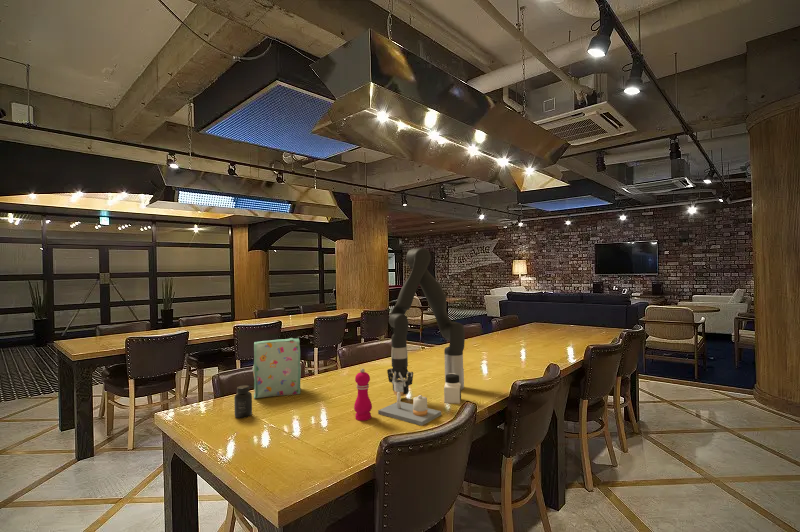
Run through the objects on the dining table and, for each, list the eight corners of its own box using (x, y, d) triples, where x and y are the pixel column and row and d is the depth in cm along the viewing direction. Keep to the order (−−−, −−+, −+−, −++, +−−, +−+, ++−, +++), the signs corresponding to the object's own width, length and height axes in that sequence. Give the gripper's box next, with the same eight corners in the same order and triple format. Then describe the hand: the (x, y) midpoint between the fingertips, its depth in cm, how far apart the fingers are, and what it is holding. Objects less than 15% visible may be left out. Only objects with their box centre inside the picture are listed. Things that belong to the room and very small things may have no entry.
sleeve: (391, 394, 180) (391, 381, 180) (400, 391, 186) (399, 378, 186) (401, 396, 177) (400, 383, 177) (409, 393, 182) (409, 380, 182)
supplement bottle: (255, 413, 165) (255, 385, 166) (244, 419, 159) (244, 389, 159) (242, 412, 168) (242, 384, 168) (230, 417, 161) (230, 388, 161)
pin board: (398, 404, 174) (398, 384, 174) (441, 414, 160) (440, 393, 160) (378, 413, 163) (377, 392, 163) (421, 425, 149) (421, 402, 149)
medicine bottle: (460, 403, 173) (459, 376, 173) (444, 403, 175) (443, 376, 175) (461, 398, 180) (460, 372, 180) (445, 398, 182) (445, 372, 182)
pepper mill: (358, 422, 153) (357, 371, 154) (351, 416, 160) (350, 367, 160) (374, 419, 157) (374, 369, 157) (367, 413, 163) (367, 365, 164)
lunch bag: (300, 386, 205) (299, 334, 206) (302, 395, 190) (301, 339, 190) (253, 391, 198) (252, 337, 198) (252, 401, 182) (251, 343, 183)
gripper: (416, 356, 180) (418, 393, 180) (392, 353, 189) (393, 388, 189) (406, 359, 174) (408, 397, 174) (382, 356, 183) (383, 392, 183)
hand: (400, 392), depth 181 cm, fingers closed on sleeve, 5 cm apart
